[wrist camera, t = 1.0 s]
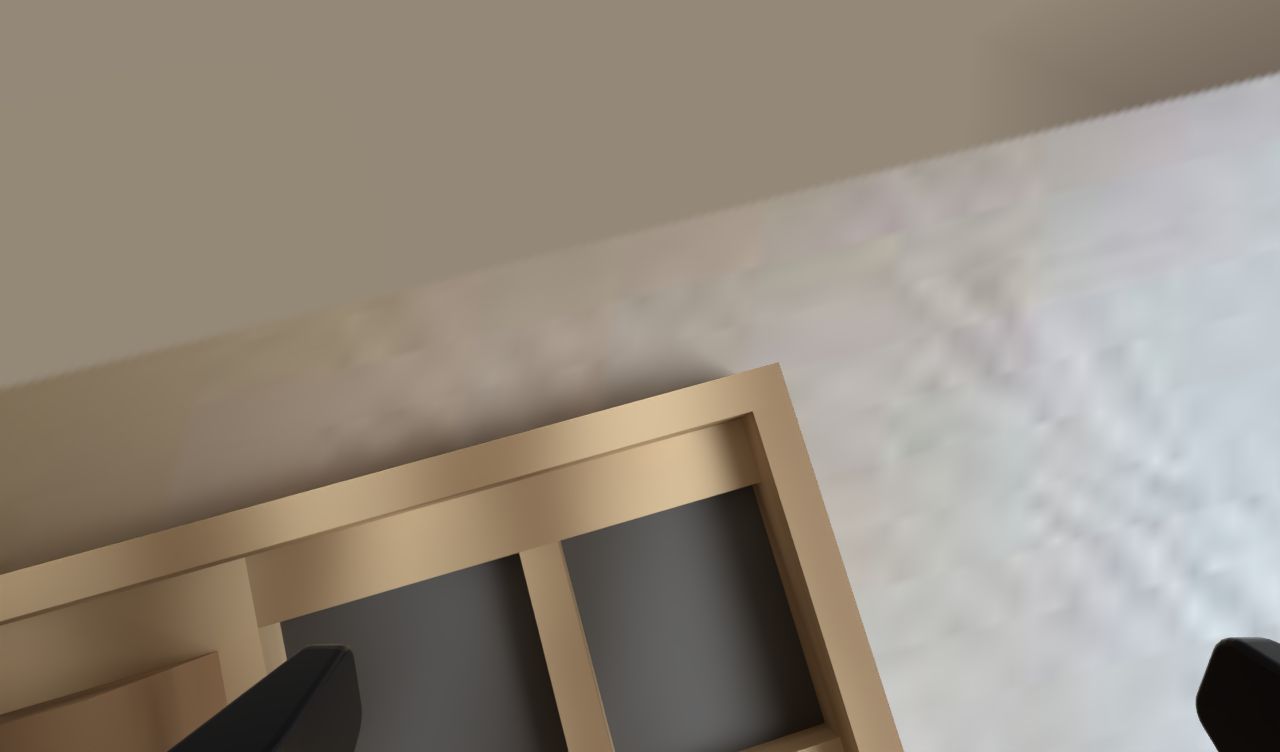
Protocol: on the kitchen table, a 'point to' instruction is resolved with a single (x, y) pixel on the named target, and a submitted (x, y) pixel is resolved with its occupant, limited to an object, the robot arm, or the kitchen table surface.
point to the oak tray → (510, 592)
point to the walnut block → (122, 712)
